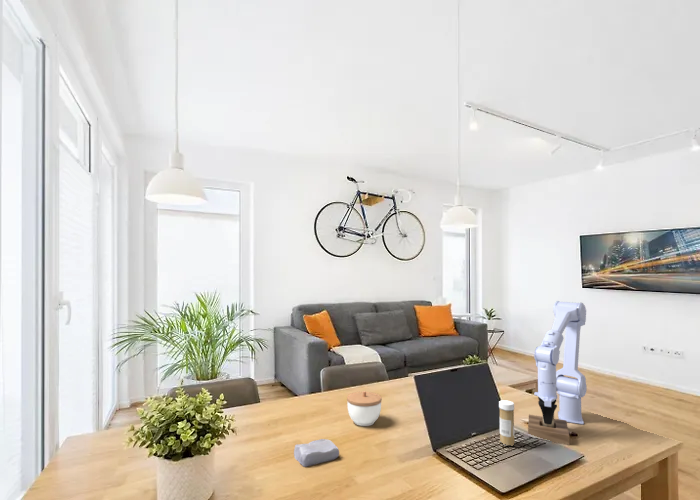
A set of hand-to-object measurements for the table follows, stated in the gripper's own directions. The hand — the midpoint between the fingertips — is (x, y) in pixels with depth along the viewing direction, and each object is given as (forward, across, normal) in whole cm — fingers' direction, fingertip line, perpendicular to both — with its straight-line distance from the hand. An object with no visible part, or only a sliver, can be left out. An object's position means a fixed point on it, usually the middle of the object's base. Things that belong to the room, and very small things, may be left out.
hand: (547, 421), depth 131 cm
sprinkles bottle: (+4, +16, -12) cm, 20 cm away
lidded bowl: (+4, +21, -60) cm, 64 cm away
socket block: (+4, 0, 0) cm, 4 cm away
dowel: (+3, 0, 0) cm, 3 cm away
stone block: (+4, +51, -63) cm, 81 cm away
